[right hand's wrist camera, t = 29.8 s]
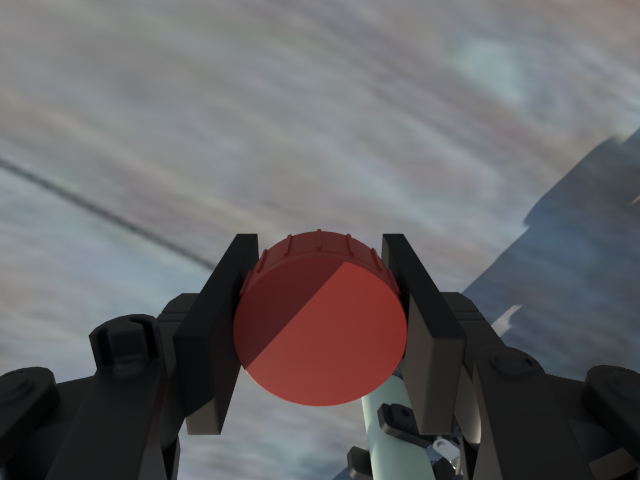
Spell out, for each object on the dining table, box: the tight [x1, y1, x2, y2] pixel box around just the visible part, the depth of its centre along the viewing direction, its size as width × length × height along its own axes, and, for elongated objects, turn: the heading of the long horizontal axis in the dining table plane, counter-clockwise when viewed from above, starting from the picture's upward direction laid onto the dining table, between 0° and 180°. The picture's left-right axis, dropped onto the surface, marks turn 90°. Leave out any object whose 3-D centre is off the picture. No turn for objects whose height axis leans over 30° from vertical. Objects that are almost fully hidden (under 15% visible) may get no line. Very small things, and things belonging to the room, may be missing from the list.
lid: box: [233, 229, 408, 406], centre depth 11 cm, size 5×5×2 cm
